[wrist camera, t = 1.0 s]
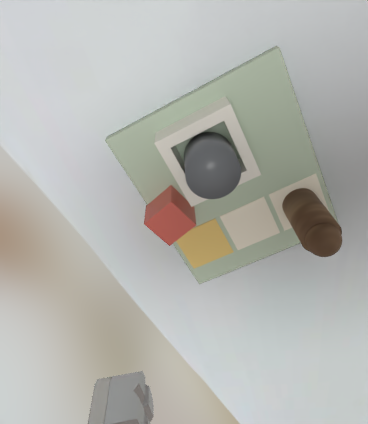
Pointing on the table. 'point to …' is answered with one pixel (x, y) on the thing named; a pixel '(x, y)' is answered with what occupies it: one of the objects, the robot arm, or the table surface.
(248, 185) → the board
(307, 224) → the pawn
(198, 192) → the dome
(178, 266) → the table surface
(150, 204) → the red cube
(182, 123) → the housing
